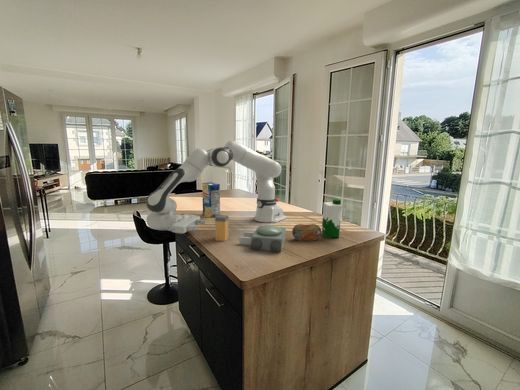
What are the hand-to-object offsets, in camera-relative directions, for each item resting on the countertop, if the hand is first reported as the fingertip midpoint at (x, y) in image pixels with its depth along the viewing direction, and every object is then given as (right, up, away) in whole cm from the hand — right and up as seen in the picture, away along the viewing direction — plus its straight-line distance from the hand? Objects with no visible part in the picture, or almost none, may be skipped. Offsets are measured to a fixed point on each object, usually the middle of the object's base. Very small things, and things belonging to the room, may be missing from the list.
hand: (201, 225), depth 134 cm
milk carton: (+69, -7, +8) cm, 69 cm away
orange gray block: (+11, -7, -1) cm, 13 cm away
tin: (+54, -8, +1) cm, 55 cm away
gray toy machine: (+31, -8, -5) cm, 33 cm away
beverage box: (-3, +1, +43) cm, 43 cm away
